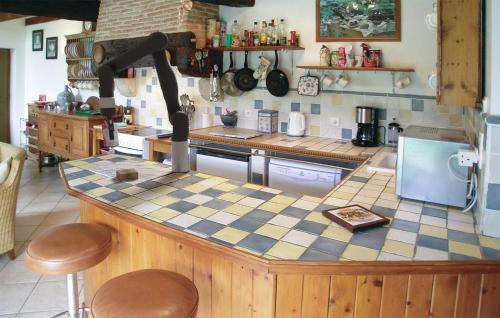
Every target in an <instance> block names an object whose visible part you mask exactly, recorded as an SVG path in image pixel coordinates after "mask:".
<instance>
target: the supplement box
mask: <svg viewBox="0 0 500 318" xmlns="http://www.w3.org/2000/svg"><path fill="white" fill-rule="evenodd" d="M101 129H102V139H103V140H102V141H103V147H104V148H117V147H119V146H120V143H119V142H120V140H119V132H118V124H117V123H114V130H115V131H114V140H110V139H109V132H108V129H107V125H106V124H105V123H103V124H102V125H101ZM110 129H112V128H110Z"/></svg>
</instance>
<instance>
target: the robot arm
mask: <svg viewBox="0 0 500 318" xmlns="http://www.w3.org/2000/svg"><path fill="white" fill-rule="evenodd" d="M168 44H169V37H168V35H167V34H166V33H164V32H162V31H154V32H151V33H149V34H148V36H147V39H146V40H145V41H143V42H141V43H140V44H139V45H137V46H135V47H133V48H130V49H128V50H126V51H124V52H123V53H121V54H119V55H117V56H116V57H114V58H112V59H111V60H108V61H107V62H105V63H103V64H101V65H99V66H98V67H97V68H96V70H95V71H96V72H95V74H96V76H97V77H98V78H97V79H98V84H99V86H98V96H99V101H98V102H99V110H100V111H99V113H100V116H101V117H102V118H103V117H104V124H106V125H107V129H108V132H109V139H110V140H114V131H115V130H114V124H115V122H114V121H115V120H114V119H113V117H115V116H117V106H116V105H117V104H116V99H115V92H114V90H115V89H114V75H117V73H119V72H122V71H125V70H126V69H127V68H130V67H131V66H133V65H134V64H136V63H138V62H139V61H141V60H142V59H144V58H145V57H147V56H149V55H151V56H152V59H153V62H154V67H155V71H156V75H157V79H158V83H159V87H160V90H161V93H162V96H163V99H164V102H165V106H166V110H167V117H168V121H169V124H170V125H171V126H172V133H171V136H170V146H171V149H170V150H171V151H170V152H171V172H173V173H186V172H190V171H191V167H190V165H191V164H190V163H191V162H190V159H191V157H190V153H189V135H190V119H189V115H188V114H187V113H185V111H183V110H182V108H181V107H182V106H181V104H180V100H179V83H178V79H177V77H176V73H175V71H174V68H173V67H172V65H171V63H170V60H169V59H168V55H167V51H166V48H167V46H168ZM110 128H112V129H110Z"/></svg>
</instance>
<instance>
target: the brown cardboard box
mask: <svg viewBox="0 0 500 318" xmlns="http://www.w3.org/2000/svg"><path fill="white" fill-rule="evenodd" d="M115 177H116V178H117V179H118V180H119V181H120V182H124V181H125V182H126V181H132V180H138V179H139V171H137V170H136V169H135V168H126V169H116V170H115Z"/></svg>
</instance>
